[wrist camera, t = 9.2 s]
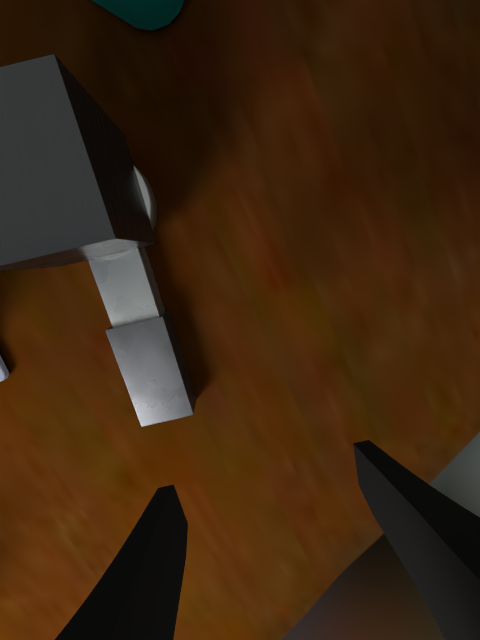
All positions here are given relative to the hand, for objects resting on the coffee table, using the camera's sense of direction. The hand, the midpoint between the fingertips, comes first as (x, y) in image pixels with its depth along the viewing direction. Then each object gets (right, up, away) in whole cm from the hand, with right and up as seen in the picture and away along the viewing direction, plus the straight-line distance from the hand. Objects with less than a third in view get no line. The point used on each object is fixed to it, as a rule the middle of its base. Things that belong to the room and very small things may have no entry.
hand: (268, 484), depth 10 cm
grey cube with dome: (-9, +13, +4) cm, 16 cm away
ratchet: (-8, +8, +7) cm, 14 cm away
